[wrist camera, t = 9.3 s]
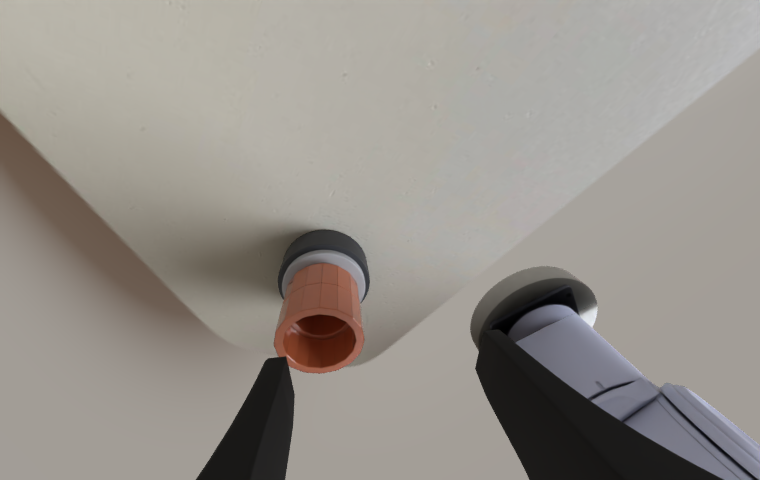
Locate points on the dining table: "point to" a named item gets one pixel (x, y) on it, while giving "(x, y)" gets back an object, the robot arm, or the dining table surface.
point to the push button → (325, 257)
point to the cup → (320, 320)
